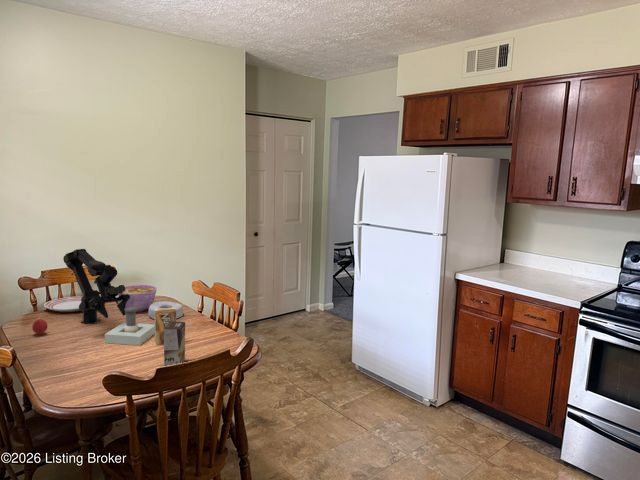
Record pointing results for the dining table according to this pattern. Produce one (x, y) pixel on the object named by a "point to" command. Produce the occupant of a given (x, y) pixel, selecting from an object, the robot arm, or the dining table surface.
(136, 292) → the bowl of food
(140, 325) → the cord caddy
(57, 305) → the dinner plate
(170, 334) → the coffee box
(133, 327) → the pepper grinder
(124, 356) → the dining table surface
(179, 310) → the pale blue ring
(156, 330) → the candy box
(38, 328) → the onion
